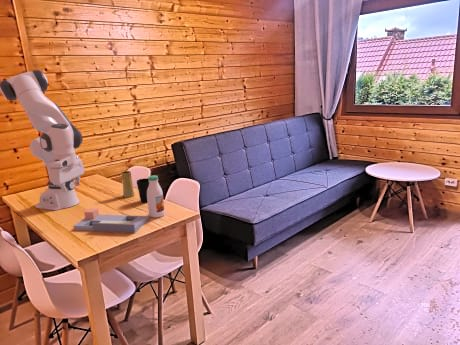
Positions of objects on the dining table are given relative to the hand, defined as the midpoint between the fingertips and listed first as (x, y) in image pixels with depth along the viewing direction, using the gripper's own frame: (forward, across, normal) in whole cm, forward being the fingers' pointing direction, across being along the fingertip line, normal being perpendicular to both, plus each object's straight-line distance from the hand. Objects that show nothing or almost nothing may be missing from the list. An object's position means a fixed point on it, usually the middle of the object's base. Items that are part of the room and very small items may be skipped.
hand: (71, 188), depth 167 cm
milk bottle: (+18, -13, +35) cm, 41 cm away
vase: (+17, -40, +7) cm, 44 cm away
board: (+18, 0, +18) cm, 25 cm away
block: (+15, -3, +6) cm, 17 cm away
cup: (+18, -32, +21) cm, 42 cm away
